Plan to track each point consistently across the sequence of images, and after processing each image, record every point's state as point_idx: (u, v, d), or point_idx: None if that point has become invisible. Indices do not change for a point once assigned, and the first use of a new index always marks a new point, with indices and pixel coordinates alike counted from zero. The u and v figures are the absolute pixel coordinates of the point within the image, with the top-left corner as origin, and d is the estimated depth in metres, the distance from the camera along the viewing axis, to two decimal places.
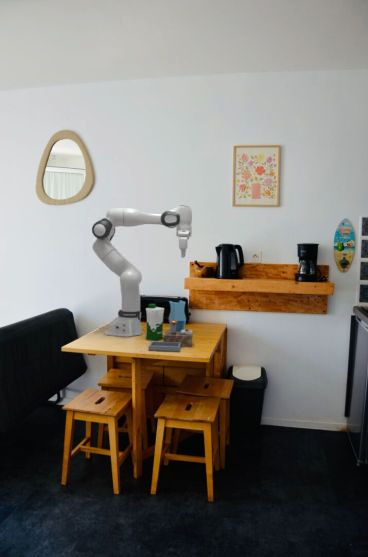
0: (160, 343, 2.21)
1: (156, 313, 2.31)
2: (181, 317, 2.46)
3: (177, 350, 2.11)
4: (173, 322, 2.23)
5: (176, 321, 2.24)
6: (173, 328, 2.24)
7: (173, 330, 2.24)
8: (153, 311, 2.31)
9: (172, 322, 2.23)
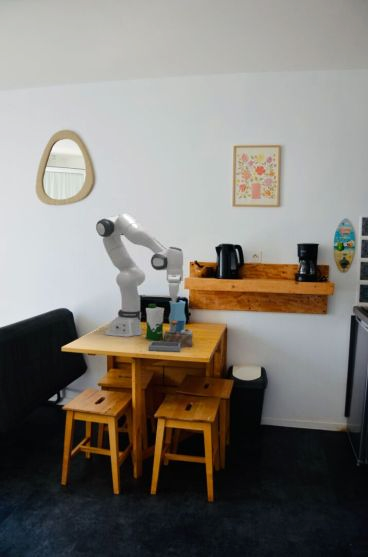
0: (160, 343, 2.21)
1: (156, 313, 2.31)
2: (181, 317, 2.46)
3: (177, 350, 2.11)
4: (173, 322, 2.23)
5: (176, 321, 2.24)
6: (173, 328, 2.24)
7: (173, 330, 2.24)
8: (153, 311, 2.31)
9: (172, 322, 2.23)
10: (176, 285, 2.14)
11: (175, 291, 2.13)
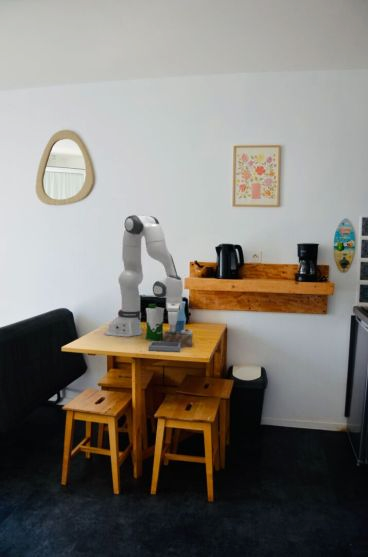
0: (160, 343, 2.21)
1: (156, 313, 2.31)
2: (181, 317, 2.46)
3: (177, 350, 2.11)
4: None
5: None
6: None
7: None
8: (153, 311, 2.31)
9: None
10: (175, 314, 2.15)
11: (174, 320, 2.15)
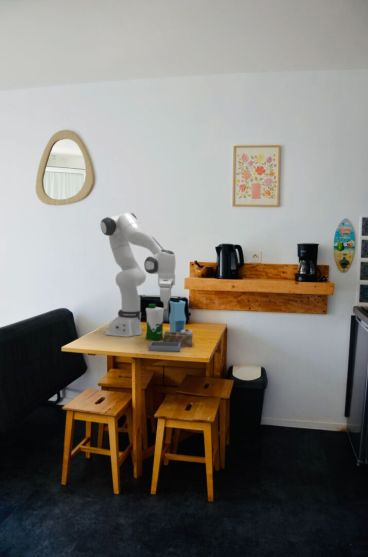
0: (160, 343, 2.21)
1: (156, 313, 2.31)
2: (181, 317, 2.46)
3: (177, 350, 2.11)
4: None
5: (169, 298, 2.13)
6: None
7: None
8: (153, 311, 2.31)
9: None
10: (167, 290, 2.04)
11: (166, 296, 2.04)
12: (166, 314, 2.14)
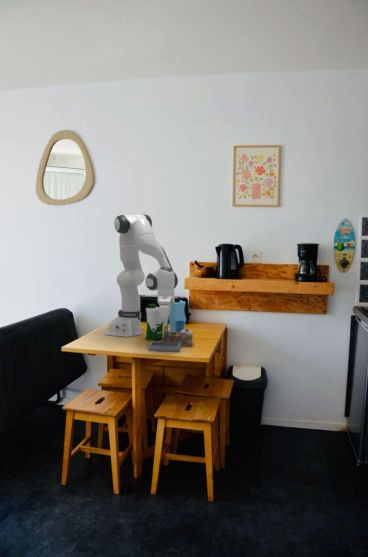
0: (160, 343, 2.21)
1: (156, 313, 2.31)
2: (181, 317, 2.46)
3: (177, 350, 2.11)
4: None
5: (169, 315, 2.14)
6: None
7: None
8: (153, 311, 2.31)
9: None
10: (167, 308, 2.05)
11: (166, 314, 2.04)
12: (166, 331, 2.14)
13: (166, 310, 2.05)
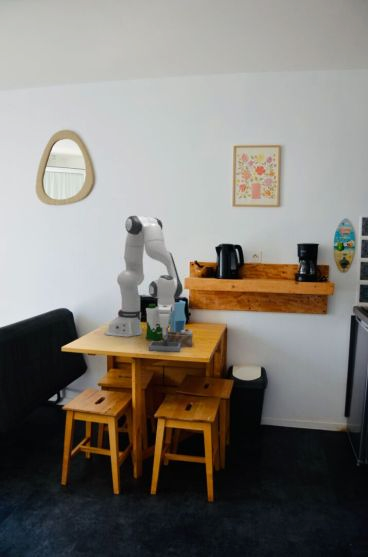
0: (160, 343, 2.21)
1: (156, 313, 2.31)
2: (181, 317, 2.46)
3: (177, 350, 2.11)
4: None
5: (168, 325, 2.14)
6: None
7: (165, 335, 2.15)
8: (153, 311, 2.31)
9: None
10: (167, 316, 2.05)
11: (166, 322, 2.05)
12: (165, 341, 2.15)
13: (166, 319, 2.05)
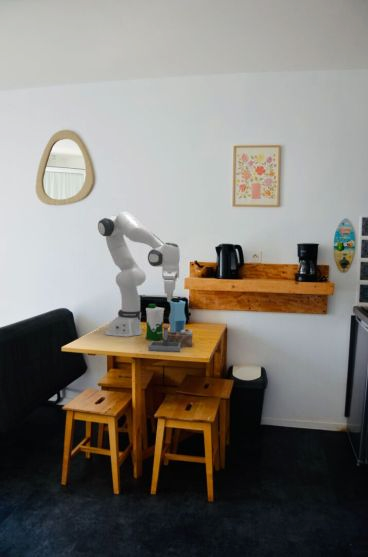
0: (160, 343, 2.21)
1: (156, 313, 2.31)
2: (181, 317, 2.46)
3: (177, 350, 2.11)
4: (165, 326, 2.14)
5: (168, 325, 2.15)
6: (165, 333, 2.15)
7: (165, 335, 2.15)
8: (153, 311, 2.31)
9: (164, 326, 2.14)
10: (171, 282, 2.06)
11: (170, 288, 2.05)
12: (165, 341, 2.15)
13: (171, 284, 2.05)
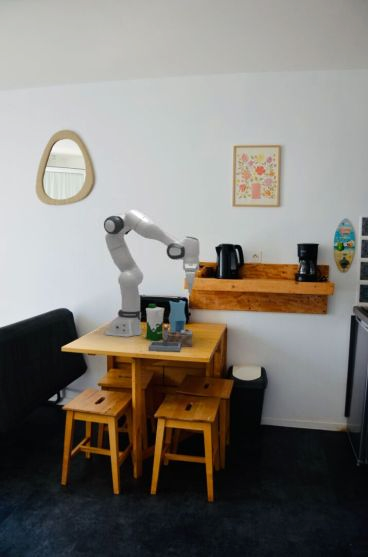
0: (160, 343, 2.21)
1: (156, 313, 2.31)
2: (181, 317, 2.46)
3: (177, 350, 2.11)
4: (165, 327, 2.13)
5: (168, 325, 2.14)
6: (165, 333, 2.15)
7: (165, 335, 2.15)
8: (153, 311, 2.31)
9: (164, 327, 2.14)
10: (193, 274, 2.17)
11: (192, 280, 2.16)
12: (165, 341, 2.15)
13: (192, 276, 2.16)
